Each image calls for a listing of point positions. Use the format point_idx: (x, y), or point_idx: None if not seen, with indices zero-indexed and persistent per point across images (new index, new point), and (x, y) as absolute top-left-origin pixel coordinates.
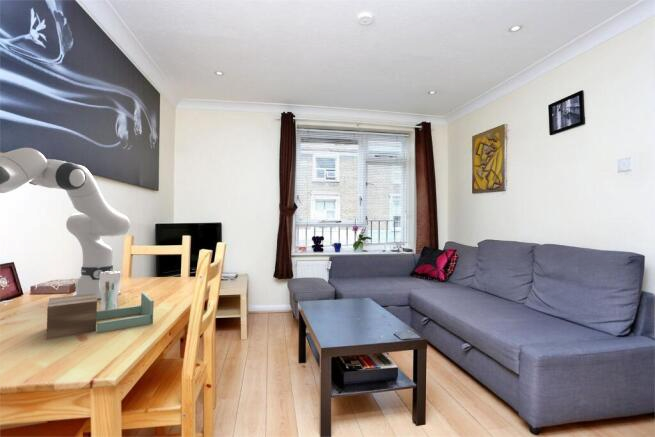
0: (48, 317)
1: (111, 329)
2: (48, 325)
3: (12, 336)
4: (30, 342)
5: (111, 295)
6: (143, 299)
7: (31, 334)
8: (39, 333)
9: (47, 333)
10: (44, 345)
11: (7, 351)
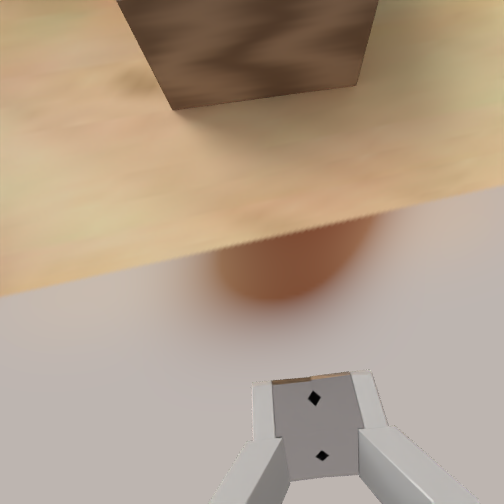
0: (373, 8)
1: None
2: (366, 38)
3: (230, 222)
4: (367, 134)
5: None
6: None
7: (239, 155)
8: (241, 128)
9: (359, 66)
10: (440, 76)
11: (456, 189)
